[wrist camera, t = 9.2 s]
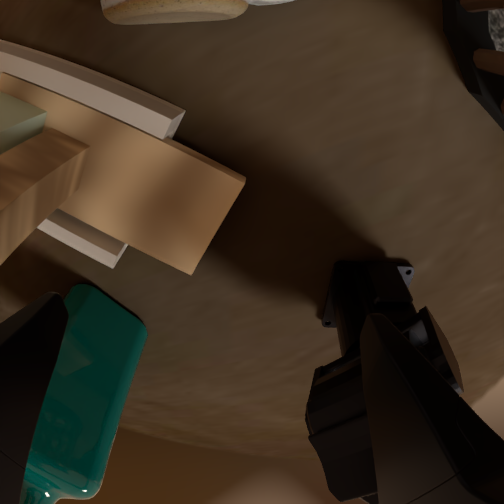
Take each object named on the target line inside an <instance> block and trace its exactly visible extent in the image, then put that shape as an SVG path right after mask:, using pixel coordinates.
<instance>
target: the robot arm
mask: <svg viewBox="0 0 504 504" xmlns="http://www.w3.org/2000/svg"><path fill="white" fill-rule="evenodd" d="M339 267H343V268H342V269H338V268H339ZM407 270H409V271H408V272H406V271H407ZM413 274H414V268H413V266H412V265H411V264H401V263H393V262H370V261H365V262H356V261H338V262H336V263H335V264H334V266H333V271H332V276H331V280H330V285H329V290H328V294H327V299H326V303H325V307H324V312H323V316H322V325H323V326H324V327H333V328H337V332H338V338H339V343H340V349H341V355H342V357H341V358H339V359H337V360H335V361H333V362H331V363H329V364H327V365H325V366H320V367H318V368H316V369H315V372H314V377H313V381H312V386H311V390H310V395H309V399H308V402H307V405H306V414H305V416H306V417H305V421H306V424H307V428H308V431H309V434H310V435H309V436H308V438H309V441H310V442H311V444H312V446H313V447H314V449H315V450H316V452H317V454H318V456H319V458H320V461H321V463H322V466H323V469H324V472H325V476H326V480H327V484H328V488H329V490H330V492H331V493H332V494H333V495H334V496H335V497H336V498H337V499H338V500H339V501H340V502H345V501H348V500H353V499H356V498H360V499H361V500H363V501H364V502H366V503H367V504H504V440H503V439H502V438H501V437H500V436H499V435H498V434H496V433H495V432H494V431H493V430H492V429H491V428H490V427H489V426H488V425H487V424H486V423H485V422H484V421H483V420H482V419H481V418H480V417H479V416H478V415H477V414H476V413H475V412H474V411H473V409H472V408H471V407H470V406H469V405H468V404H467V403H466V402H465V401H464V400H463V398H462V397H459V395H460V394H462V393H463V392H464V389H463V384H462V379H461V374H460V370H459V365H458V362H457V360H456V358H455V356H454V353H453V351H452V349H451V347H450V345H449V342H448V340H447V338H446V337H445V335H444V333H443V332H442V330H441V329H440V327H439V325H438V324H437V322H436V321H435V319H434V318H433V316H432V314H431V313H430V311H429V310H428V308H427V307H426V306H425V307H424V308H422V309H420V310H419V313H417V312H416V310H415V307H414V305H413V303H412V301H413V298H412V296H411V294H410V292H409V290H408V288H409V285H410V282H411V280H412V277H413ZM68 319H69V314H68V310H67V308H66V306H65V303H64V301H63V299H62V296H61V295H60V294H59V293H56V292H47V293H45V294H44V295H42V296H41V297H39V298H37V299H36V300H34V301H33V302H31V303H30V304H28V305H27V306H25V307H24V308H22V309H21V310H19V311H18V312H16V313H15V314H13V315H12V316H11V317H9V318H8V319H6V320H5V321H3V322H2V323H0V504H19V503H20V497H21V491H22V485H23V480H24V475H25V470H26V469H25V468H26V465H27V461H28V456H29V452H30V448H31V444H32V440H33V436H34V432H35V429H36V425H37V421H38V418H39V414H40V411H41V408H42V404H43V401H44V398H45V395H46V392H47V389H48V386H49V383H50V380H51V377H52V374H53V371H54V368H55V365H56V362H57V359H58V355H59V352H60V348H61V344H62V340H63V337H64V333H65V330H66V326H67V323H68ZM327 321H329V322H327Z"/></svg>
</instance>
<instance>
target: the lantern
mask: <svg viewBox="0 0 504 504" xmlns="http://www.w3.org/2000/svg"><path fill="white" fill-rule="evenodd" d="M442 3H443V31H444V33H445V35H446V37H447V39H448V41H449V44H450V46H451V48H452V50H453V53H454V55H455V57H456V60H457V62H458V65H459V67H460V70H461V72H462V75H463V77H464V80H465V83H466V86H467V88H468V91H469V93H470V94H471V95H472V96H473V97H474V98H475V99H476V100H477V101H478V102H479V103H480V104H481V105H482V106H483V107H484V109H485V110H486V111H487V112H488V113H489V114H490V115H491V116H492V118H493V119H494V120H495V121H496V122H497V123H498V125H499V126H500V127H501V128H502V129H503V131H504V0H442Z"/></svg>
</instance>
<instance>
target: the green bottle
mask: <svg viewBox="0 0 504 504" xmlns="http://www.w3.org/2000/svg"><path fill="white" fill-rule="evenodd" d="M63 301H64V303H65V306H66V308H67V310H68V314H69V319H68V323H67V326H66V330H65V333H64V337H63V340H62V344H61V348H60V352H59V355H58V359H57V362H56V365H55V368H54V371H53V374H52V377H51V380H50V383H49V386H48V389H47V392H46V395H45V398H44V401H43V404H42V408H41V411H40V414H39V418H38V421H37V425H36V429H35V432H34V436H33V440H32V444H31V448H30V452H29V456H28V461H27V465H26V468H25V469H26V470H25V475H24V480H23V485H22V491H21V497H20V503H19V504H55V503H56V501H58V500H59V499H62V498H69V499H89V498H92V497H94V496H95V495H96V494H97V492H98V491H99V489H100V487H101V484H102V480H103V477H104V473H105V470H106V466H107V462H108V458H109V455H110V452H111V448H112V444H113V441H114V438H115V434H116V431H117V428H118V425H119V421H120V418H121V415H122V412H123V408H124V405H125V402H126V399H127V396H128V393H129V390H130V387H131V384H132V381H133V378H134V375H135V372H136V369H137V366H138V363H139V360H140V357H141V354H142V351H143V348H144V346H145V343H146V340H147V336H148V333H147V330H146V327H145V325H144V324H143V323H142V322H141V320H140V319H138V318H137V317H135V316H134V315H132V314H131V313H130V312H128V311H127V310H125V309H124V308H123V307H121V306H120V305H119V304H117V303H116V302H114V301H113V300H112V299H110V298H109V297H108V296H106V295H105V294H104V293H102V292H101V291H100V290H99V289H97V288H96V287H94V286H91V285H89V284H77V285H75V286H73V287H72V288H71V290H70V291H69V293H68V294H67V296H66V297H65V299H64V300H63Z"/></svg>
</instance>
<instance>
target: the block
mask: <svg viewBox="0 0 504 504" xmlns="http://www.w3.org/2000/svg"><path fill="white" fill-rule="evenodd" d="M46 115H47V111H45V110H43V109H40V108H38V107H36V106H33V105H31V104H29V103H27V102H24V101H22V100H20V99H17V98H15V97H13V96H10V95H8V94H6V93H3V92H1V91H0V155H1V154H3V153H4V152H6V151H8V150H10V149H11V148H13V147H15V146H17V145H19V144H21V143H23V142H24V141H26V140H28V139H30V138H32V137H34V136H36V135H38V134H40V133H42V131H43V127H44V123H45V119H46Z"/></svg>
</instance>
